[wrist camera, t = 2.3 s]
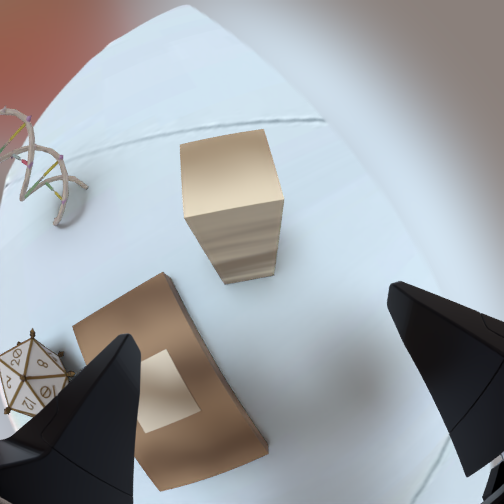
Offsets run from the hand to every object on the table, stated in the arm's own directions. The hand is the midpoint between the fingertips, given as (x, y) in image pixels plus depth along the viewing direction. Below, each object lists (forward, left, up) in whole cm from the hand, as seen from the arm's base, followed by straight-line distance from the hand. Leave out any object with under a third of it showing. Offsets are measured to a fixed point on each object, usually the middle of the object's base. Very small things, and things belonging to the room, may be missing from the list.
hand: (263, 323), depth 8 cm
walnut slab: (+1, +9, -13) cm, 16 cm away
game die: (+7, +19, -13) cm, 24 cm away
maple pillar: (+6, -3, -13) cm, 14 cm away
